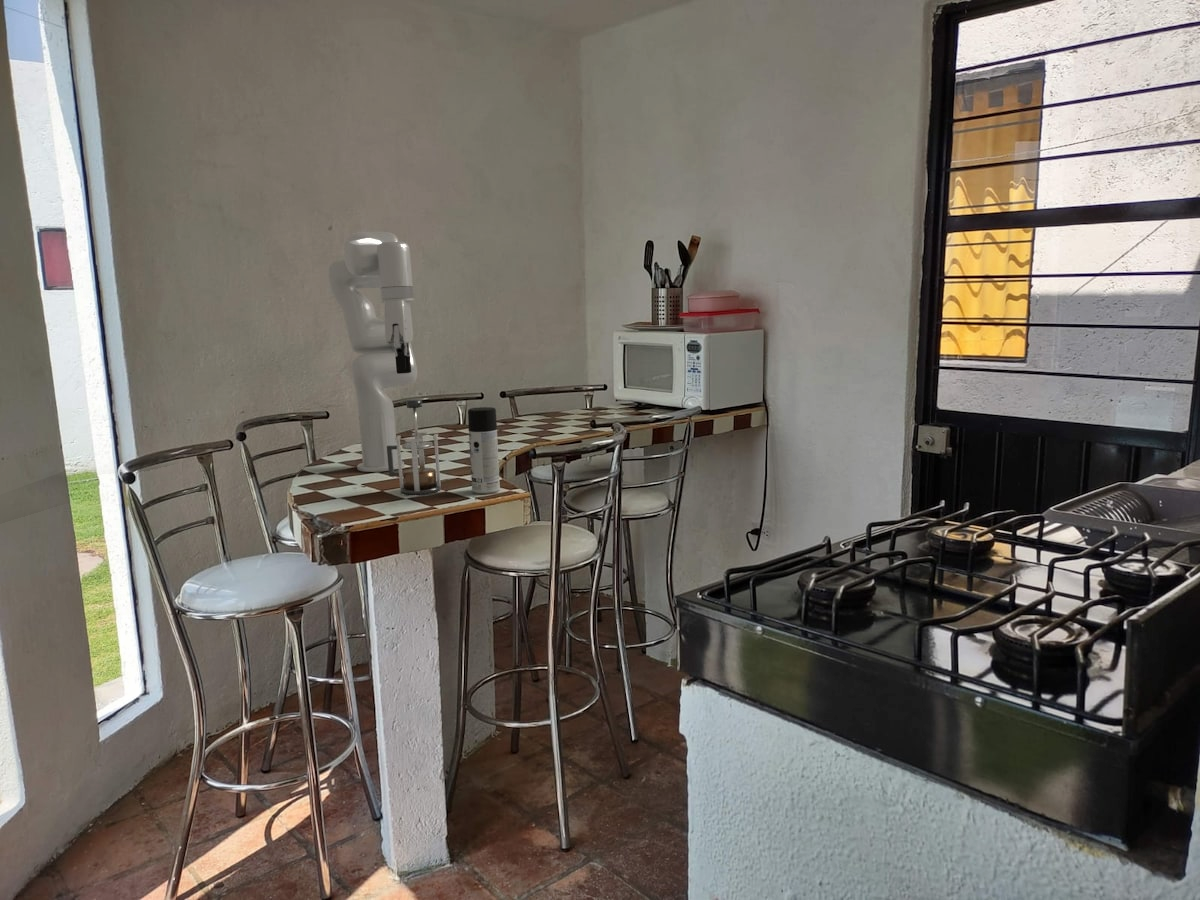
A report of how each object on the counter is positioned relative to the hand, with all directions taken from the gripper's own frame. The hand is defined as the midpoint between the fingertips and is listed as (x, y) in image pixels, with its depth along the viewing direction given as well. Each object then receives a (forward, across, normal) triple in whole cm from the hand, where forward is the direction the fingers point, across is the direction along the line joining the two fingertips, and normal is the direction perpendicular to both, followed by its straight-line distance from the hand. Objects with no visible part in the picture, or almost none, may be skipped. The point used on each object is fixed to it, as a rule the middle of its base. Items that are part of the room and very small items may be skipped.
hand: (404, 372), depth 208 cm
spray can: (+29, +4, +18) cm, 35 cm away
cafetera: (+29, +1, +1) cm, 29 cm away
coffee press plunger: (+18, +1, +2) cm, 18 cm away
